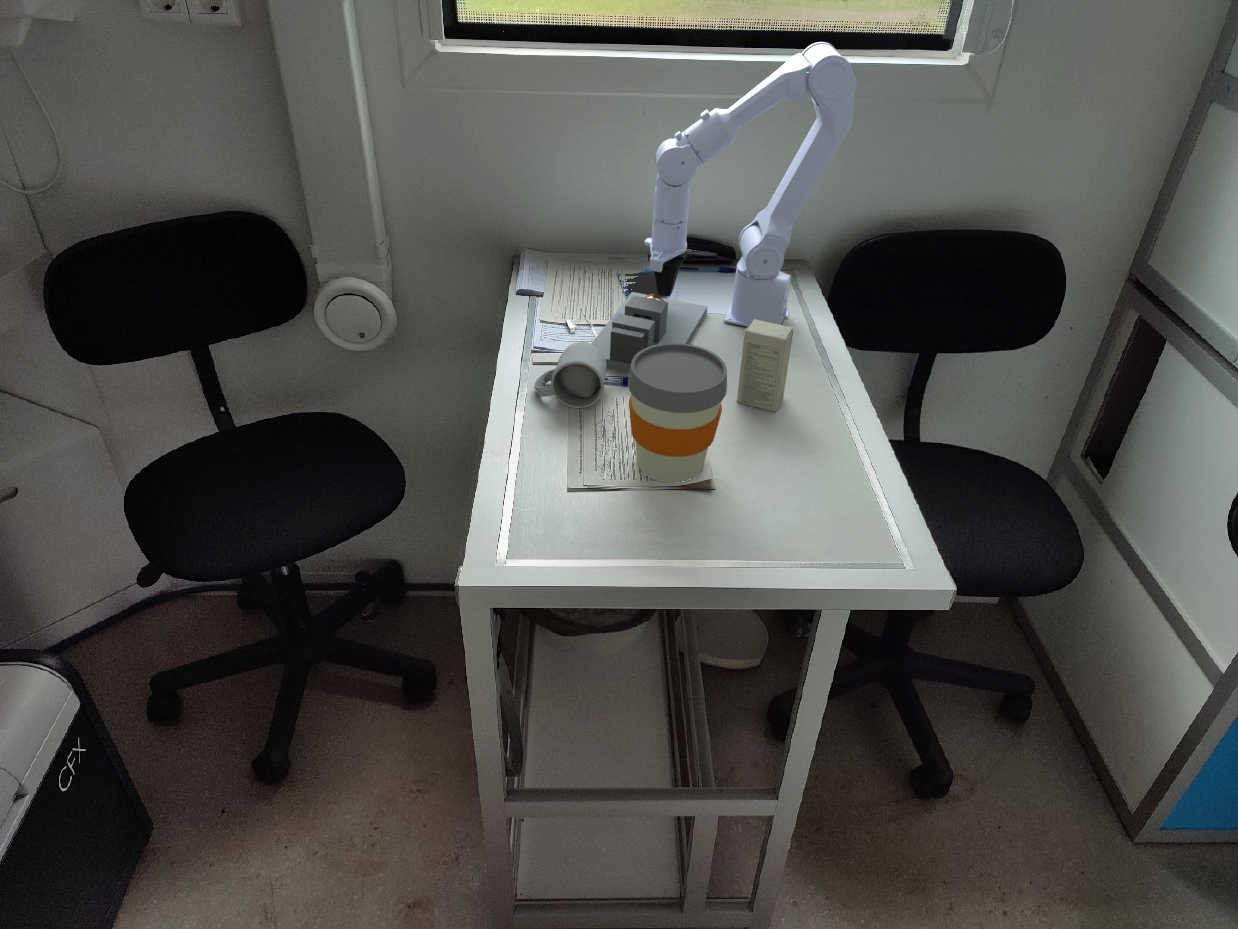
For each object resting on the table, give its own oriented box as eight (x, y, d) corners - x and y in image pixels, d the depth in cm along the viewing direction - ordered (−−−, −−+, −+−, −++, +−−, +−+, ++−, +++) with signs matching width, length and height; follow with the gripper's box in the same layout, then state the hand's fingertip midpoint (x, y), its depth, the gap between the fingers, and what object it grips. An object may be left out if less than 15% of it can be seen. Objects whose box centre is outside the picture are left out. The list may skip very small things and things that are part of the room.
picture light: (603, 348, 141) (603, 336, 140) (577, 351, 140) (577, 339, 139) (583, 309, 152) (583, 298, 150) (559, 311, 151) (559, 300, 149)
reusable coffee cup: (605, 455, 117) (608, 359, 108) (675, 425, 123) (684, 332, 114) (663, 504, 109) (673, 405, 100) (735, 469, 115) (750, 373, 106)
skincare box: (783, 399, 130) (796, 327, 122) (775, 413, 127) (788, 340, 119) (743, 388, 132) (753, 316, 124) (734, 401, 129) (744, 329, 121)
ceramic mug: (607, 381, 132) (608, 336, 127) (603, 410, 125) (603, 365, 121) (539, 377, 132) (537, 333, 128) (531, 406, 126) (528, 360, 121)
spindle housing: (706, 314, 151) (710, 277, 147) (667, 380, 133) (670, 340, 128) (631, 299, 154) (633, 263, 150) (582, 362, 136) (583, 322, 132)
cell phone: (653, 272, 165) (653, 268, 164) (669, 305, 154) (669, 301, 154) (616, 273, 164) (616, 269, 163) (628, 306, 153) (629, 302, 152)
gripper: (660, 199, 146) (655, 273, 154) (633, 229, 135) (629, 307, 143) (700, 205, 144) (693, 280, 152) (676, 236, 133) (669, 315, 141)
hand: (664, 294), depth 148 cm, fingers closed
